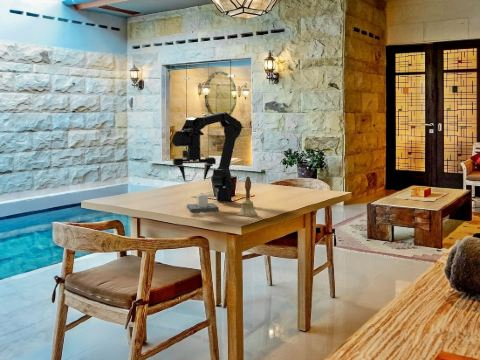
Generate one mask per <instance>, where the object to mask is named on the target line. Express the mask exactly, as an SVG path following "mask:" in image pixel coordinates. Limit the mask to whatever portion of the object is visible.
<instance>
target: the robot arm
mask: <svg viewBox="0 0 480 360" xmlns="http://www.w3.org/2000/svg"><path fill="white" fill-rule="evenodd" d="M217 123H220V125H221V127H222V128H223V134H224V143H223V147H222V151H221V156H220V160H219V164H218V165H219V166H218V167H217V168H214V169H213V171H212V175H211V178H212V180H211V181H212V183H213V186H214V189H216V190H217V191H216V196H215V197H216V198H215V199H216V201H217V202H218V203H231V202H233V199H232V190H233V189H235V183H234V181H232V179H231V177H232V174H231V170H230V166H231V161H232V158H233V153H234V148H235V144H236V140H237V139H238V138H239V136H240V135H241V132H242V130H243V124H242V122H241V121H239V120H238V119H237V118H235V117H233V116H232V115H230V114H229V113H228V112H226V111H222V112H221V111H220V112H217V113H213V114H210V115H206V116H202V117H198V116H197V117H195V116H194V117H187V118H186V119H185V121H184V124H183V126H182V127H181V129H180V130H175V131H174V134H173V135H172V139H171V141H172V145H173V146H174V147H175V148H176V147H179V148H180V147H187V150H182V151H181V152H182V153H181V155H182V157H174V158H173V159H172V165H173V166H175V167H176V168H178V169H179V170H180V174H181V176H182V179H183V181H184V182H185V181H186V174H185V166H184V164H204V166H203V167H204V171H203V180H204V181H206V179H207V177H208V173H209V171H210V169H211V167H213V166H214V165H216V163H217V161H216V158H215V157H213V156H209V157H208V156H207V157H204V158H201V157H202V155H201V136H204V135H205V133H204V132H202V129H204V128H205V127H207V126H208V125H209V126H210V125H213V124H217Z"/></svg>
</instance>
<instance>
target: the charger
mask: <svg viewBox="0 0 480 360" xmlns="http://www.w3.org/2000/svg"><path fill="white" fill-rule="evenodd" d="M208 196H209V195H208V194H196V204H197V207H208V203H209V197H208Z"/></svg>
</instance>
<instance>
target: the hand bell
mask: <svg viewBox="0 0 480 360" xmlns="http://www.w3.org/2000/svg"><path fill="white" fill-rule="evenodd" d="M244 188H245V200H244V201H242V202H241V203H242V204H241V208H240V210H239V212H237V215H238V217H239V216H240V217H255V216H258V212H257V211H256V210H255V207H254V202H253V201H252V200H251V199H250V197H251V189H252V180H251V178H250V176H246V178H245V181H244Z"/></svg>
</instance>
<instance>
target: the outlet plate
mask: <svg viewBox="0 0 480 360" xmlns="http://www.w3.org/2000/svg"><path fill="white" fill-rule="evenodd" d="M186 208H187V209H188V211H189V212H190V213H205V212H219V210H220V209H219V207H218V205H216V204H215V203H214V202H208V207H197V203H187V204H186Z"/></svg>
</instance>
